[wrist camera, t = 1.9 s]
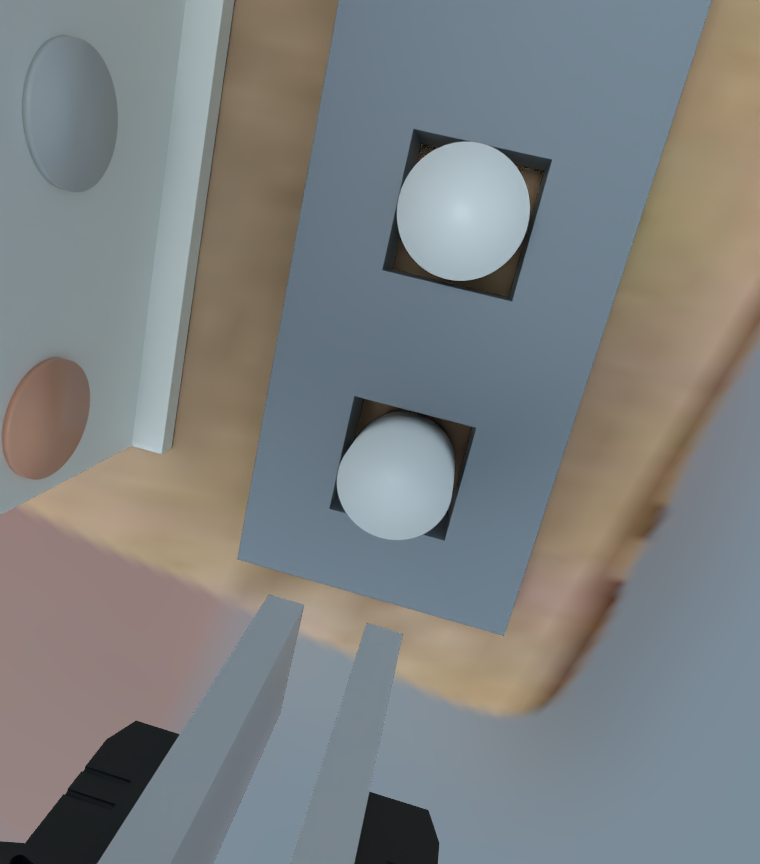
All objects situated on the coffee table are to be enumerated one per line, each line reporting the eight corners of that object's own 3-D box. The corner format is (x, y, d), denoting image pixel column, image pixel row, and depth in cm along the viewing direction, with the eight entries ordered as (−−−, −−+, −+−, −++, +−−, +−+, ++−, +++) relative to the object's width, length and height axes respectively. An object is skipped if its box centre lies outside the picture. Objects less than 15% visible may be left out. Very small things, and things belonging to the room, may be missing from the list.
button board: (416, -293, 22) (406, -376, 19) (769, -235, 21) (814, -313, 18) (259, 532, 31) (237, 559, 28) (501, 600, 30) (503, 635, 27)
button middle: (422, 144, 24) (414, 128, 21) (538, 170, 23) (546, 157, 21) (395, 264, 25) (383, 264, 22) (505, 290, 25) (508, 294, 22)
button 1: (364, 399, 27) (350, 416, 24) (467, 426, 26) (465, 447, 23) (342, 496, 28) (326, 522, 25) (440, 523, 28) (436, 553, 25)
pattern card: (162, -230, 24) (-187, -768, 11) (264, -212, 23) (19, -746, 11) (94, 427, 31) (-164, 536, 19) (171, 448, 31) (-39, 574, 18)
